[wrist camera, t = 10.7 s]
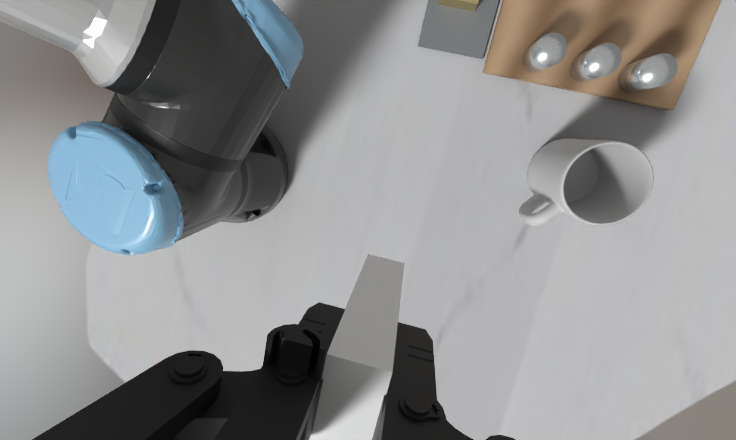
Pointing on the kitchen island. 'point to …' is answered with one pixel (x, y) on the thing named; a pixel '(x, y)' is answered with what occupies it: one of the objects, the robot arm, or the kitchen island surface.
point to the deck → (602, 41)
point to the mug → (587, 181)
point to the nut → (460, 4)
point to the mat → (458, 28)
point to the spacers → (601, 63)
